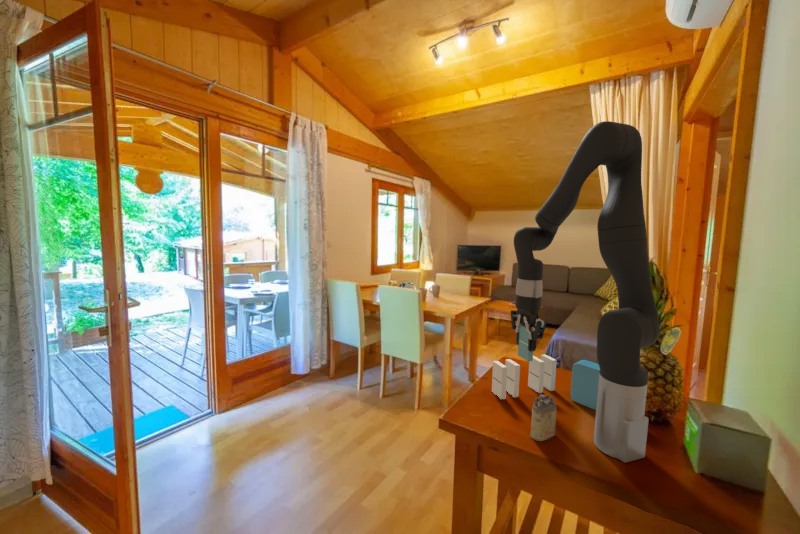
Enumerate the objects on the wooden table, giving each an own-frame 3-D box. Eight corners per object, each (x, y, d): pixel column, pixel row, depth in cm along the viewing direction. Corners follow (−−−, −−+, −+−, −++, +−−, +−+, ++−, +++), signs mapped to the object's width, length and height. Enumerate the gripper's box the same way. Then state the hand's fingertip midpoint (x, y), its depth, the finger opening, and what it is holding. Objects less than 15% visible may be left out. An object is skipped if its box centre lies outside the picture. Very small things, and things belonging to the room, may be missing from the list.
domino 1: (496, 391, 106) (497, 360, 105) (505, 398, 101) (507, 367, 100) (491, 391, 105) (492, 361, 104) (501, 399, 101) (502, 367, 99)
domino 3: (528, 361, 102) (530, 329, 101) (517, 355, 107) (519, 324, 106) (532, 360, 103) (534, 328, 101) (522, 354, 107) (523, 324, 106)
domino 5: (543, 383, 111) (545, 354, 110) (554, 390, 107) (556, 360, 105) (539, 384, 111) (541, 354, 110) (550, 391, 106) (552, 360, 105)
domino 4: (532, 385, 110) (533, 355, 109) (542, 392, 105) (544, 361, 104) (527, 385, 110) (529, 356, 108) (538, 393, 105) (540, 362, 104)
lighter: (546, 427, 87) (548, 390, 86) (559, 435, 84) (562, 397, 83) (527, 435, 84) (529, 397, 82) (540, 444, 80) (542, 404, 79)
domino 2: (508, 389, 107) (510, 358, 106) (518, 396, 103) (520, 365, 101) (503, 389, 107) (505, 359, 106) (513, 397, 102) (515, 365, 101)
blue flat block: (620, 412, 94) (624, 371, 93) (614, 418, 92) (618, 375, 90) (576, 395, 104) (579, 358, 102) (569, 400, 101) (572, 361, 99)
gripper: (504, 289, 108) (501, 341, 110) (534, 299, 94) (531, 357, 96) (523, 288, 110) (520, 338, 112) (556, 297, 97) (552, 354, 99)
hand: (525, 347), depth 104 cm, fingers closed on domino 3, 5 cm apart
